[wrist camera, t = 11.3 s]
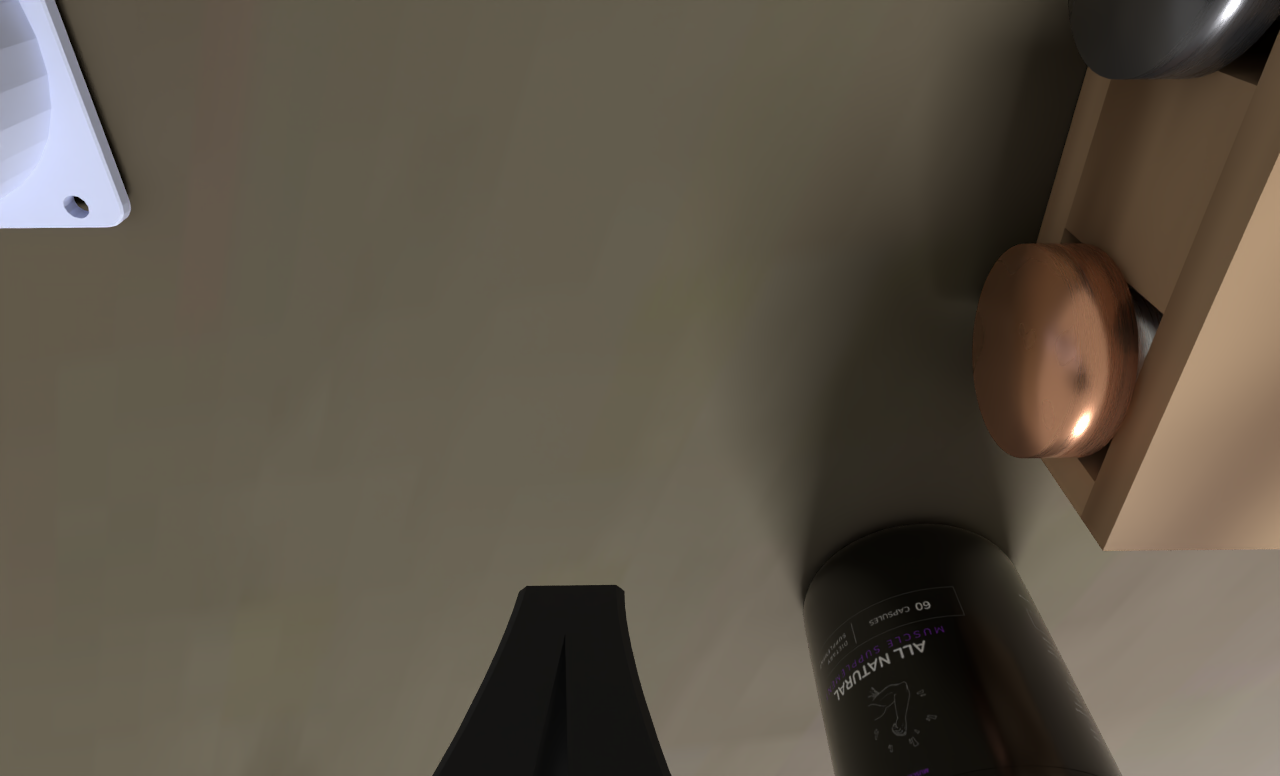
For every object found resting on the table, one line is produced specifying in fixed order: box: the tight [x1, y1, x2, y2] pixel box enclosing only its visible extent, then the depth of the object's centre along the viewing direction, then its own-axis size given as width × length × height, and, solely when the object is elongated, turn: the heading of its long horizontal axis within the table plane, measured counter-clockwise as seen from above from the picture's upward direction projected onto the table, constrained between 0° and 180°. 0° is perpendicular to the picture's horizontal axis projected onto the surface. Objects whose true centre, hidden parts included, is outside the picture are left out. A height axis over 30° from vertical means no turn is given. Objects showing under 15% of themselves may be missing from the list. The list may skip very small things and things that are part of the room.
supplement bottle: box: [803, 524, 1122, 776], centre depth 21 cm, size 7×7×12 cm
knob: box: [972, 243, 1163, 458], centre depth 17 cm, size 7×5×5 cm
